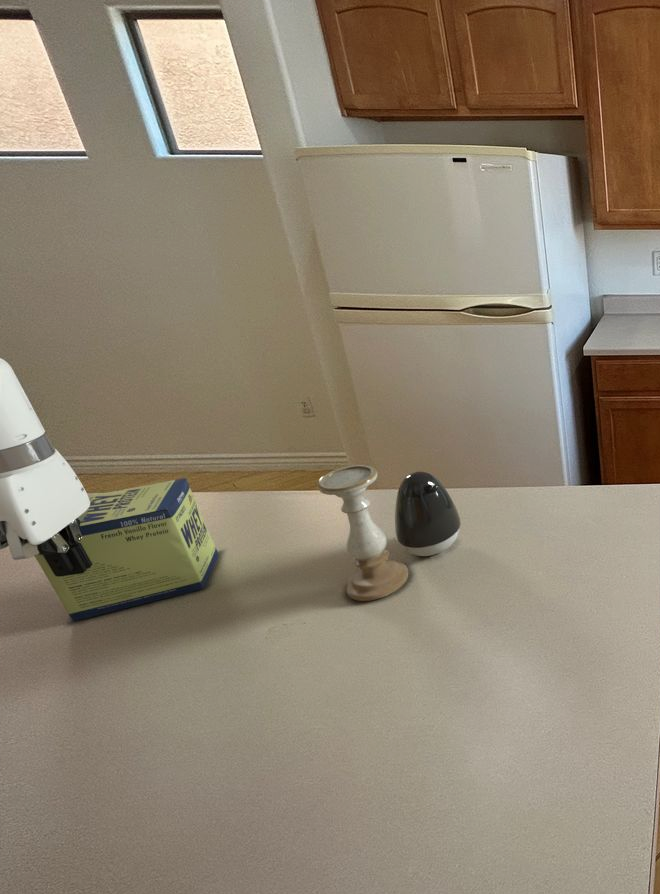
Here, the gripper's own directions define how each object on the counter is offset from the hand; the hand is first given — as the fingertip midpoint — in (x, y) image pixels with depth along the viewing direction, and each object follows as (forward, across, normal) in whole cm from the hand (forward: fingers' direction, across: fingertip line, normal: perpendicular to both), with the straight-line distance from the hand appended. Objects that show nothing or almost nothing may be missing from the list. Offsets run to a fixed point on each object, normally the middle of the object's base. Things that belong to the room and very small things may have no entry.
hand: (74, 571), depth 76 cm
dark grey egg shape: (+11, -9, +42) cm, 44 cm away
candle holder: (+11, -1, +35) cm, 37 cm away
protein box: (+11, -10, 0) cm, 15 cm away
